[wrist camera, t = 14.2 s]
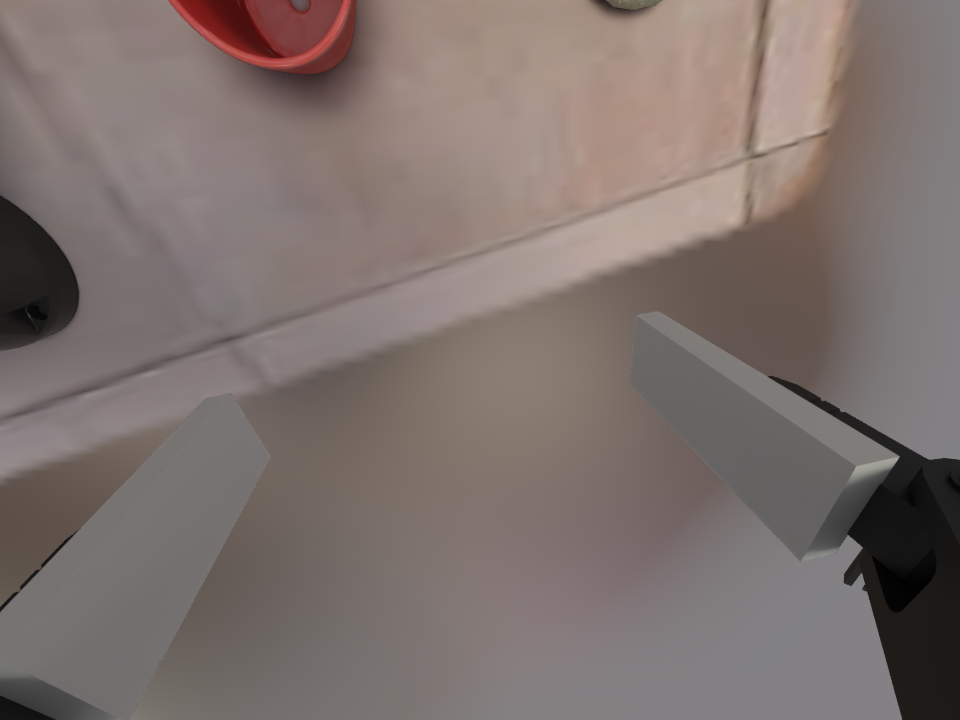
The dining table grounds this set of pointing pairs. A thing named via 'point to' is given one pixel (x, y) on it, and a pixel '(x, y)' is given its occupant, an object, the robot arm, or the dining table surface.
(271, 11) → the flower pot
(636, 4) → the sea urchin shell
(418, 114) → the dining table surface
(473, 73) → the dining table surface
